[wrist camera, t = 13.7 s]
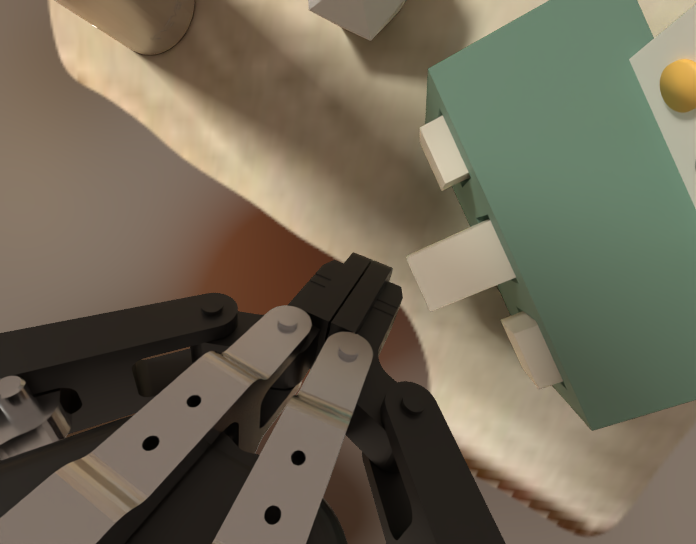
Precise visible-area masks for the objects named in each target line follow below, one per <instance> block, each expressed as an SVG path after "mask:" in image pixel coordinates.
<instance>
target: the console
mask: <svg viewBox="0 0 696 544" xmlns="http://www.w3.org/2000/svg"><path fill="white" fill-rule="evenodd" d="M442 115H443V117H444V119H445V122H446V124H447V126H448V128H449V130H450V133H451V135H452V137H453V139H454V141H455V144H456V146H457V148H458V150H459V152H460V155H461V157H462V159H463V161H464V163H465V166H466V168H467V170H468V172H469V174H470V178H468V179H466V180H464V181H461V182H459V183H457V184H455V185H453V186H452V187H453V189H454V192H455V194H456V196H457V198H458V200H459V203H460V205H461V207H462V209H463V211H464V214H465V216H466V218H467V220H468V222H469V225H470V227H471V226H474V225H476V224H478V223H480V222H482V221H485V220H488V219H490V221H491V223H492V225H493V227H494V230H495V232H496V234H497V236H498V238H499V241H500V243H501V245H502V247H503V249H504V252H505V254H506V256H507V258H508V261H509V263H510V265H511V267H512V269H513V272H514V274H515V276H516V278H513V279H511V280H508V281H506V282H503V283H501V284H498V285H497V286H498V289H499V291H500V293H501V295H502V297H503V300H504V302H505V304H506V306H507V308H508V311H509V313H510V315H514V314H517V313H519V312H522V311H523V312H525V313H526V314H527V315H529V316H530V317H531V318H533V319H534V320H535V321H536V322H537V324H538V327H539V329H540V331H541V333H542V336H543V338H544V340H545V342H546V344H547V347H548V349H549V351H550V353H551V355H552V358H553V360H554V362H555V364H556V366H557V369H558V371H559V373H560V375H561V377H562V380H563V382H560V383H557V384H554V385H552V386H553V387H554V388H555V389H556V390H557V391H558V393H559V394H560V395H561V396H562V397H563V398H564V399H565V401H566V402H567V403H568V404H569V405H570V406H571V407H572V409H573V410H574V411H575V412H576V413H577V414H578V415H579V417H580V418H581V419H582V420H583V421H584V422H585V423H586V425H587V426H588V427H589V428H590V429H591V430H592V431H593V430H597V429H600V428H603V427H607V426H610V425H613V424H617V423H620V422H623V421H627V420H630V419H633V418H637V417H640V416H643V415H647V414H650V413H653V412H657V411H660V410H663V409H667V408H670V407H674V406H677V405H680V404H684V403H687V402H690V401H694V400H696V4H694V5H693V6H692V7H691V8H690V9H688V10H687V11H686V12H685V13H684V14H683V15H681V16H680V17H679V18H678V19H677V20H675V21H674V22H673V23H672V24H671V25H669V26H668V27H667V28H666V29H665V30H663V31H662V32H661V33H660V34H659V35H657V36H656V37H655V38H654V37H653V35H652V33H651V31H650V28H649V26H648V24H647V22H646V19H645V17H644V15H643V13H642V10H641V8H640V6H639V4H638V1H637V0H549V1H547V2H546V3H544V4H542V5H540V6H539V7H537V8H535V9H533V10H531V11H530V12H528V13H526V14H524V15H523V16H521V17H519V18H517V19H515V20H514V21H512V22H510V23H508V24H507V25H505V26H503V27H501V28H499V29H498V30H496V31H494V32H492V33H491V34H489V35H487V36H485V37H483V38H482V39H480V40H478V41H476V42H475V43H473V44H471V45H469V46H467V47H466V48H464V49H462V50H460V51H459V52H457V53H455V54H453V55H451V56H450V57H448V58H446V59H444V60H443V61H441V62H439V63H437V64H435V65H434V66H432V67H430V68H428V79H427V99H426V119H425V124H427V123H429V122H431V121H433V120H435V119H437V118H439V117H440V116H442Z"/></svg>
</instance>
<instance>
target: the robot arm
mask: <svg viewBox="0 0 696 544" xmlns="http://www.w3.org/2000/svg"><path fill="white" fill-rule="evenodd" d="M55 1H56V2H58V3H59V4H61V5H62V6H64V7H65V8H67V9H69V10H70V11H72V12H73V13H75V14H76V15H78V16H79V17H81V18H83V19H84V20H86V21H87V22H89V23H90V24H92V25H93V26H95V27H96V28H98V29H100V30H101V31H103V32H104V33H106V34H107V35H109V36H111V37H112V38H114V39H115V40H117V41H118V42H120V43H122V44H123V45H125V46H126V47H128V48H129V49H131V50H133V51H135V52H137V53H140V54H146V55H154V54H160V53H162V52H164V51H167V50H169V49H170V48H171V47H173V46H174V45H176V44H177V43H178V41H179V40H180V39H181V38H182V37H183V36H184V34H185V32H186V31H187V29H188V27H189V25H190V22H191V19H192V16H193V11H194V5H195V0H55ZM392 271H393V268H392V267H389V266H387V265H384V264H381V263H379V262H376V261H373V260H371V259H369V258H366V257H364V256H361V255H359V254H356V253H352V254H351V255H350V257H349V258H348V259H347V260H346V262H345V263H344V264H343V263H341V262H339V261H336V260H333V261H331V262H329V263H326V264H324V265H323V266H322V267H321V268H320V269H319V270H318V271H317V272H316V274H315V275H314V276H313V277H312V278H311V279H310V281H309V282H308V283H307V284H306V285H305V286H304V287H303V288H302V289H301V291H300V292H299V293H298V294H297V295H296V296H295V297H294V299H293V300H292V301H291V302H290V303H289V304H288V305H287V306H280V307H276V308H273V309H271V310H270V311H269V312H268V313H266V314H265V315H258V314H251V313H245V312H239V311H238V310H237V309H238V307H237V304H236V302H235V301H234V300H233V299H232V298H231V297H229V296H227V295H224V294H220V293H209V294H202V295H197V296H192V297H187V298H182V299H176V300H171V301H167V302H161V303H155V304H150V305H145V306H140V307H135V308H130V309H124V310H119V311H114V312H109V313H103V314H99V315H93V316H88V317H83V318H78V319H72V320H67V321H62V322H56V323H51V324H46V325H41V326H36V327H31V328H25V329H20V330H15V331H10V332H4V333H0V544H347V541H346V538H345V534H344V531H343V529H342V527H341V524H340V522H339V520H338V518H337V516H336V515H335V513H334V511H333V509H332V508H331V507H330V506H329V504H328V503H327V502H326V500H325V499H324V498H323V495H324V493H325V490H326V487H327V484H328V481H329V479H330V476H331V473H332V471H333V468H334V465H335V462H336V459H337V456H338V454H339V451H340V448H341V445H342V443H343V440H344V437H345V435H346V436H347V437H348V438H350V440H351V441H352V442H353V443H354V444H355V445H356V446H357V447H359V449H360V450H362V458H363V463H364V466H365V470H366V473H367V477H368V480H369V484H370V487H371V491H372V494H373V498H374V501H375V505H376V509H377V512H378V515H379V519H380V522H381V526H382V529H383V533H384V536H385V540H386V544H505V542H504V540H503V538H502V536H501V533H500V531H499V529H498V527H497V525H496V523H495V521H494V519H493V518H492V515H491V513H490V511H489V509H488V507H487V505H486V503H485V501H484V499H483V496H482V494H481V492H480V490H479V488H478V486H477V484H476V482H475V480H474V478H473V476H472V474H471V472H470V470H469V468H468V466H467V464H466V462H465V460H464V458H463V455H462V453H461V451H460V449H459V447H458V445H457V443H456V441H455V439H454V437H453V435H452V433H451V431H450V429H449V427H448V425H447V423H446V421H445V419H444V416H443V414H442V412H441V410H440V408H439V406H438V404H437V402H436V400H435V399H434V397H433V396H432V394H431V393H430V392H429V391H428V390H426V389H425V388H424V387H422V386H420V385H418V384H416V383H413V382H407V381H406V382H405V381H404V382H398V383H397V382H396V381H394V379H392V378H391V377H390V376H389V375H388V374H387V373H386V372H385V371H384V370H383V368H382V366H381V364H380V362H379V359H378V356H379V354H380V351H381V350H382V347H383V345H384V343H385V341H386V339H387V336H388V334H389V332H390V330H391V328H392V325H393V323H394V320H395V317H396V314H397V312H398V309H399V307H400V304H401V301H402V299H403V296H402V289H401V287H400V286H398V285H395V284H393V283H390V282H389V280H390V277H391V274H392ZM186 347H190V349H186V350H183V351H179V352H175V353H171V354H167V355H163V356H160V357H155V358H151V359H147V360H141V359H143V358H146V357H150V356H154V355H158V354H162V353H166V352H170V351H174V350H178V349H182V348H186ZM309 369H311V370H310V373H309V374H308V376H307V378H306V380H305V382H304V384H303V386H302V388H301V389H300V391H299V393H298V394H297V395H295V393H296V392H297V391H298V389H299V388H300V386H301V382H302V380H303V378H304V376H305V375H306V373H307V372H308V370H309ZM286 405H287V406H286ZM285 407H286V408H285ZM284 408H285V409H284ZM283 409H284V411H283V413H282V415H281V417H280V419H279V421H278V423H277V424H276V426H275V428H274V430H273V432H272V434H271V435H270V437H269V439H268V441H267V443H266V445H265V446H264V448H263V450H262V452H261V454H260V455H258V454H255V452H256V450H257V448H258V445H259V443H260V441H261V439H262V437H263V435H264V434H265V433H266V431H267V430H268V429H269V427H270V426H271V425H272V424H273V422H274V421H275V420H276V418H277V417H278V416H279V414H280V413H281V412H282V410H283ZM133 413H136V414H135V415H134V416H129V417H126V418H123V419H120V420H117V421H114V422H111V423H108V424H105V425H102V426H100V427H96V428H94V429H91V430H88V431H85V432H82V433H79V434H76V435H73V436H70V437H68V438H65V437H66V436H67V434H70V433H73V432H77V431H80V430H83V429H86V428H89V427H92V426H96V425H99V424H102V423H105V422H108V421H111V420H115V419H118V418H121V417H124V416H127V415H131V414H133ZM64 438H65V439H64Z"/></svg>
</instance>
